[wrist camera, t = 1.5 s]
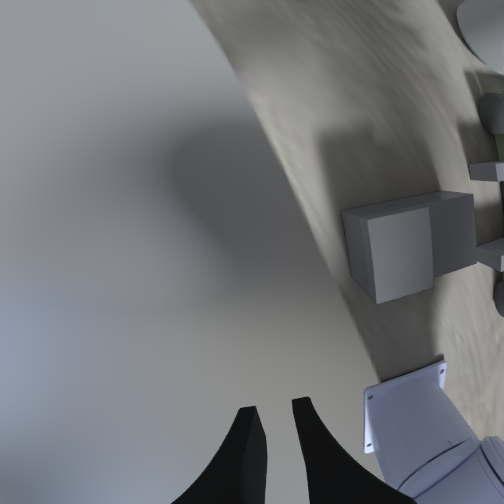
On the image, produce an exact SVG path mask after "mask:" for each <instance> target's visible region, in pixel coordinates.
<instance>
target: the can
mask: <svg viewBox="0 0 504 504" xmlns="http://www.w3.org/2000/svg"><path fill="white" fill-rule="evenodd" d="M456 16H457V20H458V24H459V27H460V31H461V33H462V36H463V38H464V40H465V42H466V43H467V45H468V46H469V48H470V49H471V50H472V52H473V53H474V54H475V55H476V56H477V58H479V59H480V60H481V61H482V62H483V63H484V64H486V65H487V66H489V67H490V68H491V69H492V70H494V71H496V72H497V73H499V74H503V75H504V0H465V1H464V2H462V3H461V4H460V5H459V6H458V7H457V13H456Z"/></svg>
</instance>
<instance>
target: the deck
mask: <svg viewBox="0 0 504 504" xmlns="http://www.w3.org/2000/svg"><path fill="white" fill-rule="evenodd" d="M479 115H480V119H481V121H482V123H483V125H484V127H485V128H486V129H487V130H488V131H489V132H490V133H492V134H494V136H495V141H496V146H497V152H498V157H499V161H492V162H483V163H474V164H469V170H470V177H471V180H480V181H496V182H499V181H501V184H502V193H503V205H504V94H501V95H500V94H494V93H486V94H484V95H483V96H482V97H481V99H480V102H479ZM477 261H478V262H480V263H482V264H484V265H487V266H489V267H491V268H493V269H495V270H497V271H500V272H502V271H504V237H503V238H500V239H497V240H494V241H491V242H488V243H485V244H482V245H479V246H477ZM494 302H495V306H496V309H497V311H498V312H499V314H500V315H501V316H502V317H504V281H502V282H500V283H498V284H497V286H496V288H495V291H494Z"/></svg>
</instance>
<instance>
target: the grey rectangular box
mask: <svg viewBox="0 0 504 504" xmlns="http://www.w3.org/2000/svg"><path fill="white" fill-rule="evenodd" d="M341 213H342V219H343V224H344V230H345V236H346V243H347V249H348V256H349V262H350V270H351V277H352V278H353V279H354V280H355V281H356V282H357V283H358V284H359V285H360V287H361V288H362V289H363V290H364V291H365V292H366V293H367V294H368V295H369V296H370V297H371V299H372V300H373V301H374V302H375V303H376V304H380V303H383V302H387V301H390V300H394V299H397V298H400V297H404V296H407V295H410V294H413V293H416V292H420V291H423V290H426V289H429V288H432V287H434V285H433V278H435V277H438V276H441V275H444V274H447V273H450V272H453V271H456V270H459V269H462V268H465V267H467V266H470V265H473V264H476V263H477V244H476V222H475V208H474V198H473V194H469V193H460V192H450V191H438V192H433V193H428V194H422V195H417V196H412V197H407V198H402V199H397V200H392V201H387V202H382V203H377V204H372V205H367V206H362V207H357V208H352V209H347V210H342V211H341Z"/></svg>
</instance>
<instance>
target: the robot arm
mask: <svg viewBox="0 0 504 504" xmlns="http://www.w3.org/2000/svg"><path fill="white" fill-rule="evenodd" d="M446 368H447V363H446V362H445V361H444V360H442V361H439V362H437V363H435V364H432V365H430V366H427V367H425V368H422V369H420V370H417V371H414V372H412V373H409V374H406V375H403V376H400V377H398V378H395V379H392V380H389V381H386V382H383V383H379V384H376V385H373V386H370V387H367V388H366V389H365V390H364V447H363V450H364V452H365V453H370V452H373V451H374V452H375V455H376V457H377V460H378V463H379V465H380V468H381V471H382V474H383V477H384V480H385V483H384V482H383V481H381V480H380V479H378V478H377V477H376V476H374V475H373V474H372V473H370V472H369V471H367V470H366V469H365V468H364V467H362V466H361V465H360V464H359V463H358V462H357V461H356V460H354V459H353V458H352V457H351V456H350V455H349V454H348V453H347V452H346V451H345V450H344V449H343V448H342V446H341V445H340V444H339V443H338V442H337V441H336V439H335V438H334V437H333V436H332V435H331V433H330V432H329V431H328V429H327V428H326V426H325V425H324V424H323V422H322V421H321V419H320V417H319V416H318V414H317V413H316V410H315V409H314V407H313V405H312V402H311V399H310V398H309V397H302V398H297V399H293V400H292V407H293V414H294V419H295V423H296V428H297V432H298V436H299V441H300V445H301V449H302V454H303V457H304V461H305V465H306V472H307V480H308V490H309V500H310V504H504V441H503V440H502V439H500V438H499V437H498V436H492V437H490V436H487V437H485V438H484V439H483V440H482V441H480V440H479V439H478V438H477V436H476V435H475V433H474V432H473V430H472V429H471V428H470V426H469V425H468V423H467V422H466V421H465V419H464V418H463V417H462V415H461V414H460V412H459V411H458V410H457V408H456V407H455V406H454V404H453V403H452V402H451V400H450V399H449V398H448V396H447V395H446V394H445V392H444V391H443V386H444V380H445V374H446ZM370 395H371V396H370ZM369 396H370V397H369ZM266 474H267V444H266V436H265V432H264V430H263V427H262V424H261V421H260V418H259V415H258V412H257V409H256V406H251V407H243V408H240V409H239V410H238V413H237V415H236V417H235V420H234V422H233V424H232V426H231V428H230V430H229V432H228V434H227V436H226V437H225V439H224V441H223V443H222V445H221V446H220V448H219V450H218V451H217V453H216V454H215V456H214V457H213V459H212V460H211V462H210V463H209V465H208V466H207V467H206V469H205V470H204V471H203V472H202V474H201V475H200V476H199V477H198V478H197V480H196V481H195V482H194V483H193V484H192V485H191V486H190V487H189V488H188V489H187V490H186V491H185V492H184V493H183V494H182V495H181V496H180V497H178V498H177V499H176V500H175V501H174V502H172V503H171V504H265V489H266Z"/></svg>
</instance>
